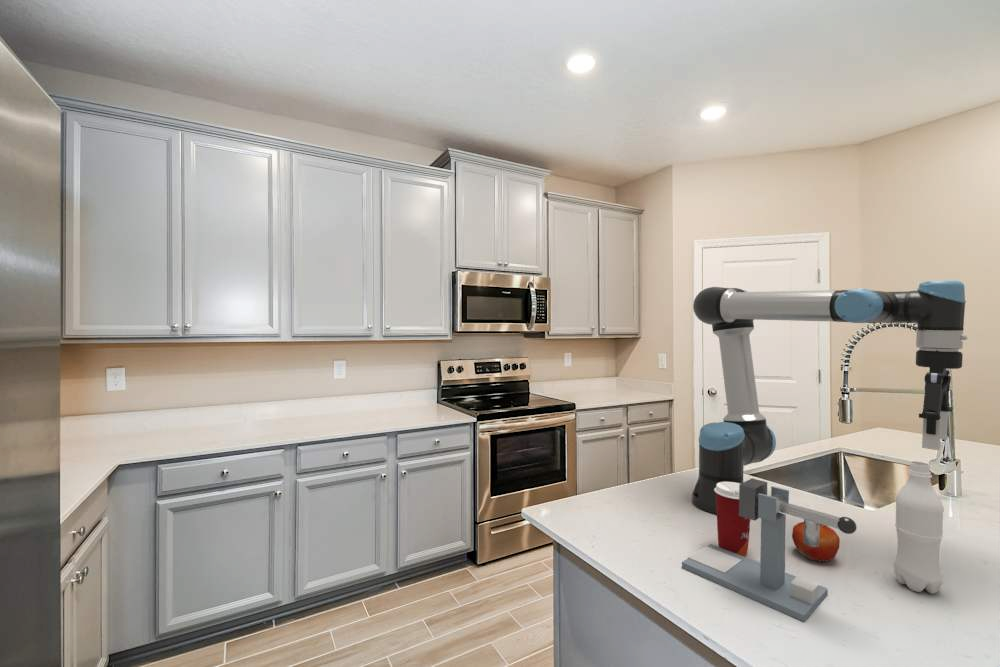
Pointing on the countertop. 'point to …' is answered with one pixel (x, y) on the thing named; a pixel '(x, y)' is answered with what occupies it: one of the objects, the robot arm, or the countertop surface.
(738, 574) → the frame
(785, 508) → the lever
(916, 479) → the water bottle
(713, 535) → the countertop surface
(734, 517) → the coffee cup
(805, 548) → the tomato
